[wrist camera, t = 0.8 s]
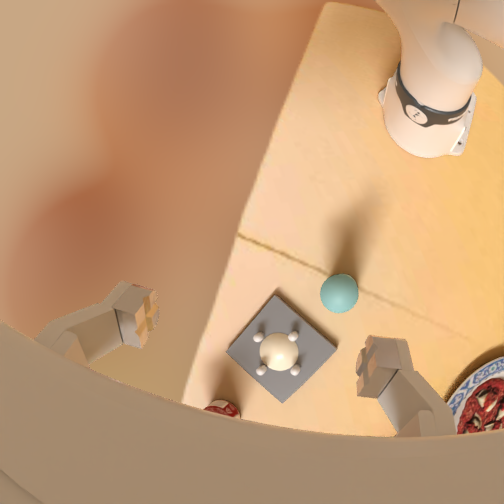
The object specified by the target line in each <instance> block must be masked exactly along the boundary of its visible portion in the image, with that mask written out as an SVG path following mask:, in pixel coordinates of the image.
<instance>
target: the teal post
mask: <svg viewBox="0 0 504 504" xmlns="http://www.w3.org/2000/svg"><path fill="white" fill-rule="evenodd" d="M320 296H321V301H322V303H323V305H324V306H325V307H326V308H327V309H328V310H330V311H332V312H335V313H343V312H346V311H348V310H350V309H351V308H352V307H353V306H354V305H355V304H356V302H357V299H358V287H357V284H356V281H355V280H354V278H353V277H351V276H350V275H348V274H337V275H333V276H331V277H329V278H328V279H327V280H326V281H325V282H324V283H323V285H322V287H321V292H320Z"/></svg>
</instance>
